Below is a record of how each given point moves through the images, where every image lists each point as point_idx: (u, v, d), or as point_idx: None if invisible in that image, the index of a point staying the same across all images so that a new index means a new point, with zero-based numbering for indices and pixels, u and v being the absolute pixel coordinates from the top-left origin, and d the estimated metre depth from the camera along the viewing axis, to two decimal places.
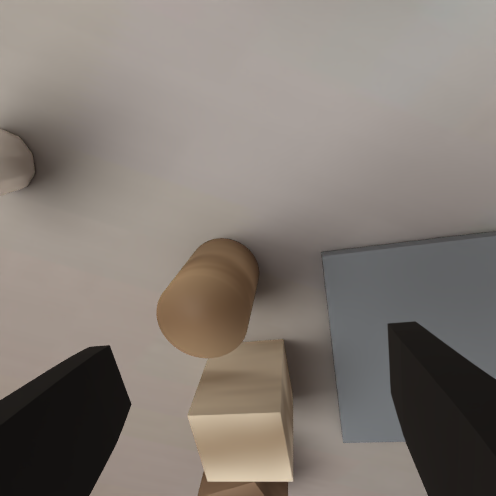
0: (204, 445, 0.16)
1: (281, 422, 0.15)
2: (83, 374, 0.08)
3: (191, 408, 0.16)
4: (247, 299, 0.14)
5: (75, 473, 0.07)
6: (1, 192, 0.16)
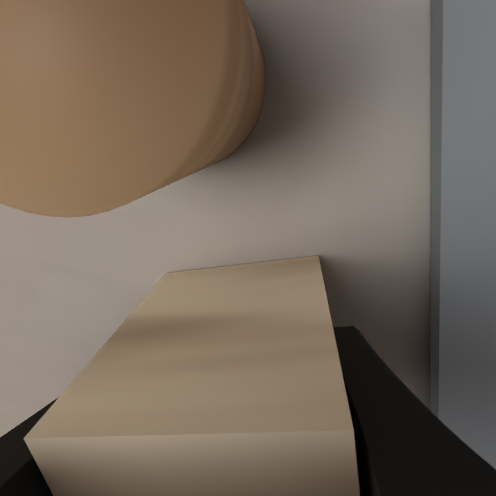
0: None
1: (354, 466, 0.04)
2: None
3: (49, 412, 0.05)
4: None
5: None
6: None
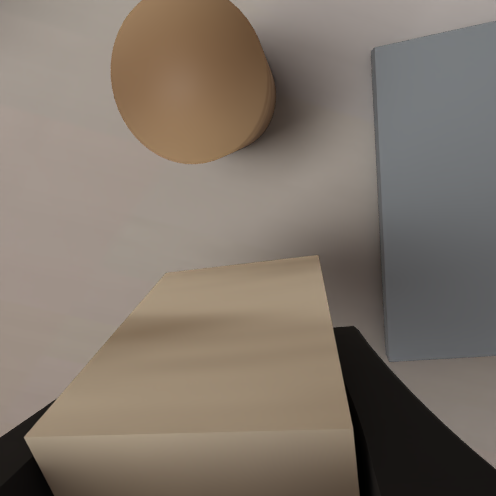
0: None
1: (353, 465, 0.04)
2: None
3: (49, 411, 0.05)
4: (264, 56, 0.09)
5: None
6: None
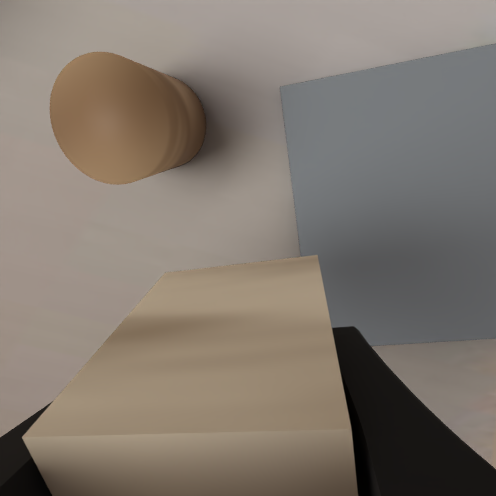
0: None
1: (351, 465, 0.04)
2: None
3: (47, 411, 0.05)
4: (171, 101, 0.11)
5: None
6: None
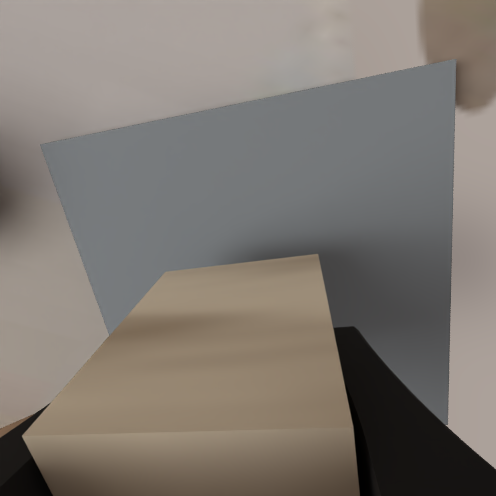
0: None
1: (353, 464, 0.04)
2: None
3: (48, 410, 0.05)
4: None
5: None
6: None
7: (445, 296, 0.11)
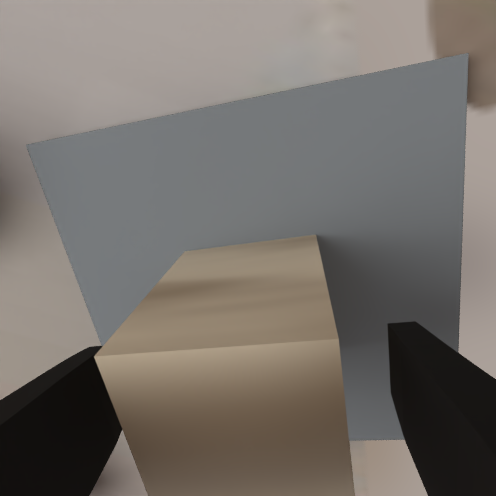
0: (143, 433, 0.07)
1: (339, 369, 0.06)
2: (82, 375, 0.08)
3: (109, 341, 0.06)
4: None
5: (75, 474, 0.07)
6: None
7: (454, 305, 0.11)
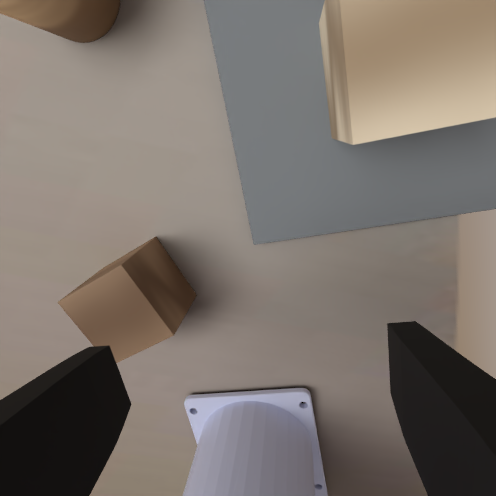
0: (360, 42, 0.09)
1: None
2: (82, 375, 0.08)
3: None
4: None
5: (75, 473, 0.07)
6: None
7: None
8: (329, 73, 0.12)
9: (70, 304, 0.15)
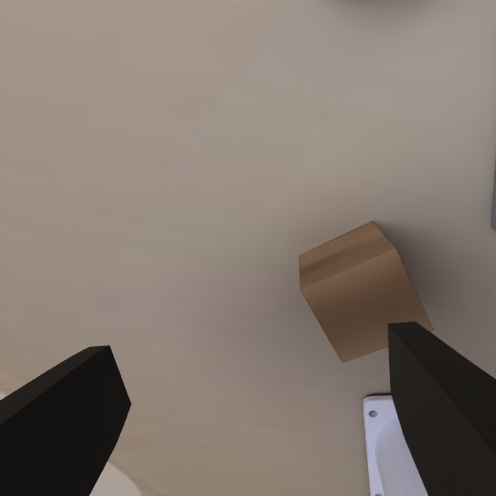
0: None
1: None
2: (82, 375, 0.08)
3: None
4: None
5: (75, 473, 0.07)
6: None
7: None
8: None
9: (315, 293, 0.14)
